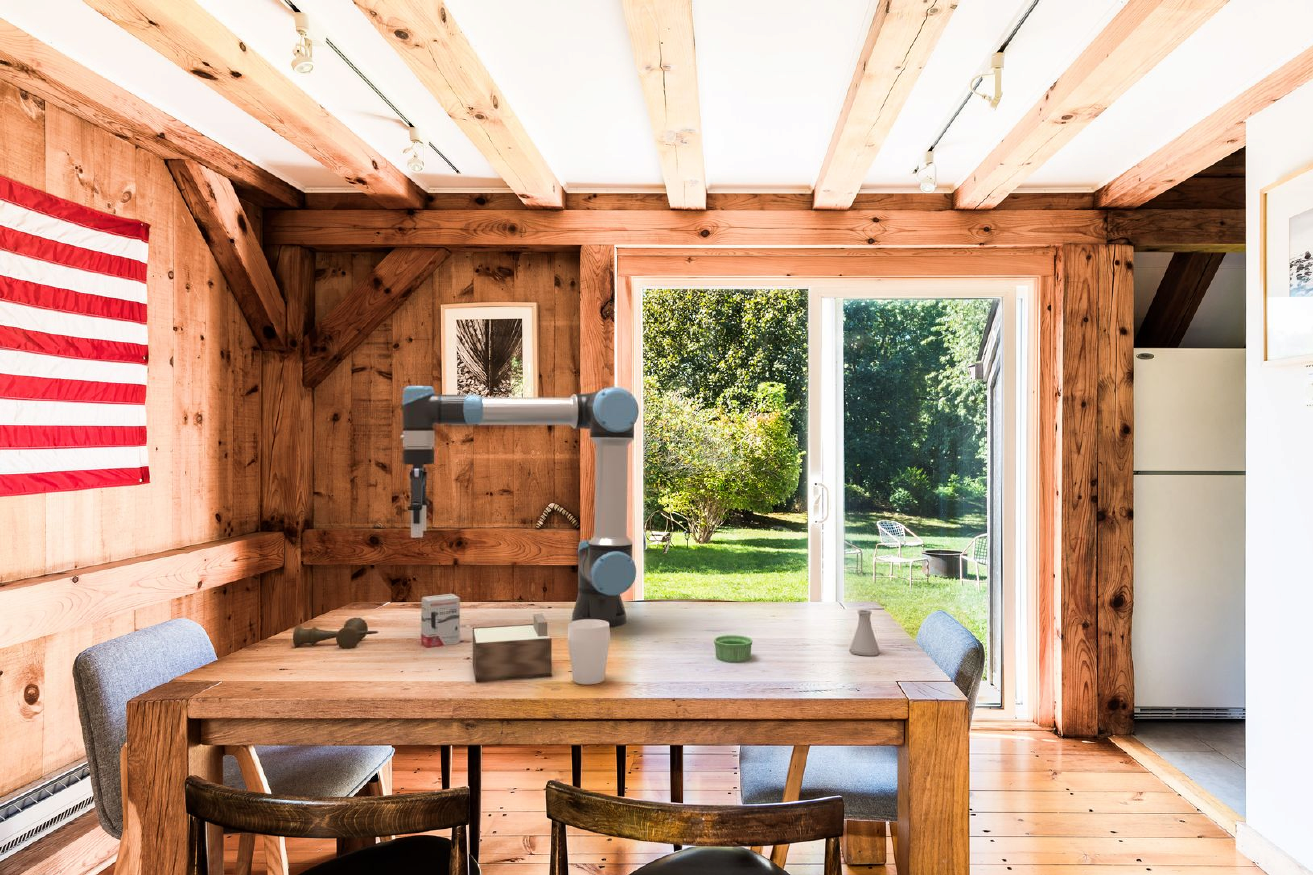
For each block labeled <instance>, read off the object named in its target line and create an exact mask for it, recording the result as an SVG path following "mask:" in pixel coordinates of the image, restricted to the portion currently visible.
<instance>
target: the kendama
mask: <svg viewBox="0 0 1313 875" xmlns="http://www.w3.org/2000/svg"><path fill="white" fill-rule="evenodd" d="M368 627H369V626H368V624H367V621H366V620H365V619H363V618H361V617H351V618H348V620H346V621H345V623H344V624H343V627H342V628H340V629H339V630H338V631H337V630H336V631H335V630H334V631H333V630H324V629H319V628H318V627H316V626H314V627H312V628H302V627H301V626H296V627H295V628H294V630H293V633H292V643H293V645H294V647H295V648H299V647H300V646H302V645H305V644H310V645H313V646H315V645H316V644H317V643H319V642H322V641H327V640H330V639H335V642H336V644H337V646H338V647H339V648H341V649H342V650H346V649H347V650H351V649H354V648H355V647H357V646H358V645H359V642H360V641H362V640H363V639H364V638H366V636H367V635H375V634H378V633H379V631H378V630H368V629H369V628H368Z"/></svg>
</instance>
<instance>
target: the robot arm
mask: <svg viewBox="0 0 1313 875" xmlns="http://www.w3.org/2000/svg"><path fill="white" fill-rule="evenodd" d="M401 404H402V405H401V407H402V408H401V410H402V416H401V417H402V434H400V436H399V438H400V439H402V447H403V448H405V449H403V450H402V464H404V465H412V468H411V470H410V472H409V480H410V481H409V482H410V484H409V485H410V486H409V487H410V504H409V505H408V506H407V511H410V538H411V539H412V538H415V539H416V538H423V537H424V532H427V506H428V505H430V501H429V500H428V499H427V480H428V471H426V469H427V468H426V466H425V465H433V464H434V463H435V450H434V449H433V448H434V447H435V425H450V426H456V427H460V426H570V427H571V428H572V429H574V430H575V429H579V430H581V429H582V430H583V429H584V430H589V439H590V440H591V441H592V443H594V445H595V458H594V460H595V467H594V468H595V470H594V526H593V527H594V532H593V537H591V539H590V540H589V539H588V540H581V541H580V542H578V549H577V557H578V560H577V562H578V567H577V569H578V571H577V574H578V575H577V576H578V578H577V579H578V586H577V588H578V589H577V590H578V593H577V598H576V601H575V604H574V607H573V609H572V610H573V611H572V614H571V622H572V621H576V620H584V619H597V620H604V621H607V622H609V628H611V627H617V626H620V625H624V624H626V622H627V611H626V609H625V605H624V602H623V600H622V595H621V594H624V593H625V592H627V591H628V590H629V589H630V588H631V587H632V586H633V584H634V583H635V580H636V578H637V568H636V567H637V566H636V564H635V561H634V559H633V541H632V540H631V539H630V538H629V537H628V534H627V533H628V480H629V479H628V475H629V469H628V468H629V467H628V466H629V444H631V443H632V442H633V441H634V440H635V424H636V422H637V420H638V418H639V412H640V411H639V405H638V401H637V399H636V397H635V396H634V395H633V394H632V393H631V392H630V391H628V390H626V389H624V388H623V387H622V388H621V387H615V386H612V387H611V386H610V387H605V388H603V389H600V390H597V391H593V392H587V393H573V394H572V395H571V396H570V397H534V396H533V397H528V396H527V397H525V396H524V397H521V396H520V397H519V396H518V397H516V396H515V397H514V396H513V397H511V396H507V397H505V396H504V397H502V396H501V397H498V396H495V397H492V396H489V397H488V396H487V397H486V396H483V397H482V395H479V394H471V393H469V394H468V393H467V394H440V393H439V394H438V393H435V388H434V387H433V386H430V385H429V386H428V385H408V386H406V387H404V389H403V390H402V402H401Z"/></svg>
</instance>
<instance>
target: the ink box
mask: <svg viewBox="0 0 1313 875" xmlns="http://www.w3.org/2000/svg"><path fill="white" fill-rule="evenodd" d="M460 601H461V598H460V597H459V596H457V595H456V594H454V593H447V594H438V595H430V596H429V595H428V596H423V597H421V612H420V613H421V615H420V618H421V621H420V622H421V623H420V644H421V645H422V646H424V647H426V648H427V649H428V648H429V649H430V648H434V647H442V646H443V647H444V646H450V645H455V644H456V645H458V644H460V643H461V642H460V638H461V636H460V633H461V630H460V628H461V624H460V621H461V620H460V617H461V614H460V612H461V610H460V609H461V607H460V606H461V604H460V603H461V602H460ZM457 643H458V644H457Z"/></svg>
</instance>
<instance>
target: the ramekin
mask: <svg viewBox="0 0 1313 875" xmlns="http://www.w3.org/2000/svg"><path fill="white" fill-rule="evenodd" d="M713 642H714V646H715V647H714V648H715V649H714V651H715V657H716V659H717V660H719V661H721V662H723V663H725V662H726V663H743V662H744V663H745V662H748V661H749V660H751V657H752V656H751V655H752V654H751V653H752V645H753V639H752V638H751V637H748V636H746V635H745V636H743V635H736V634H733V635H731V634H729V635H728V634H727V635H720V636H717V637H714V639H713Z"/></svg>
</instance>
